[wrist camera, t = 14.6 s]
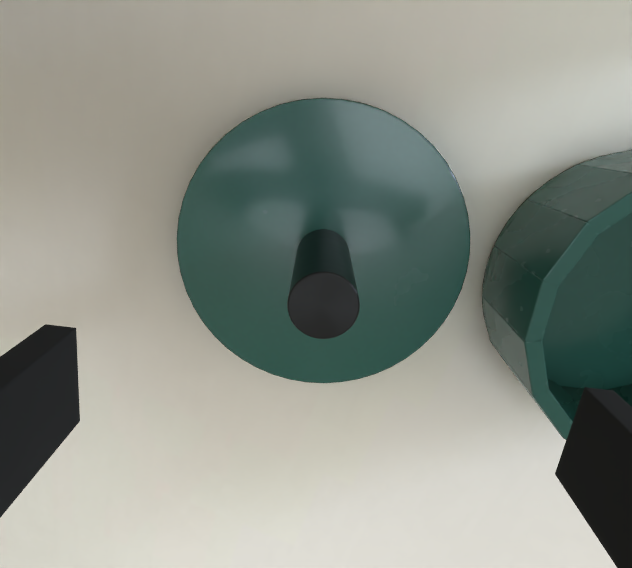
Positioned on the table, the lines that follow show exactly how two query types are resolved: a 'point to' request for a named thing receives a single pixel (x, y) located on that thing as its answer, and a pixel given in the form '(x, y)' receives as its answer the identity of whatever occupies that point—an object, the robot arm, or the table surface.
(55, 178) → the table surface
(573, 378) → the pot
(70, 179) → the table surface
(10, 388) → the robot arm
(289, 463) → the table surface
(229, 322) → the lid
